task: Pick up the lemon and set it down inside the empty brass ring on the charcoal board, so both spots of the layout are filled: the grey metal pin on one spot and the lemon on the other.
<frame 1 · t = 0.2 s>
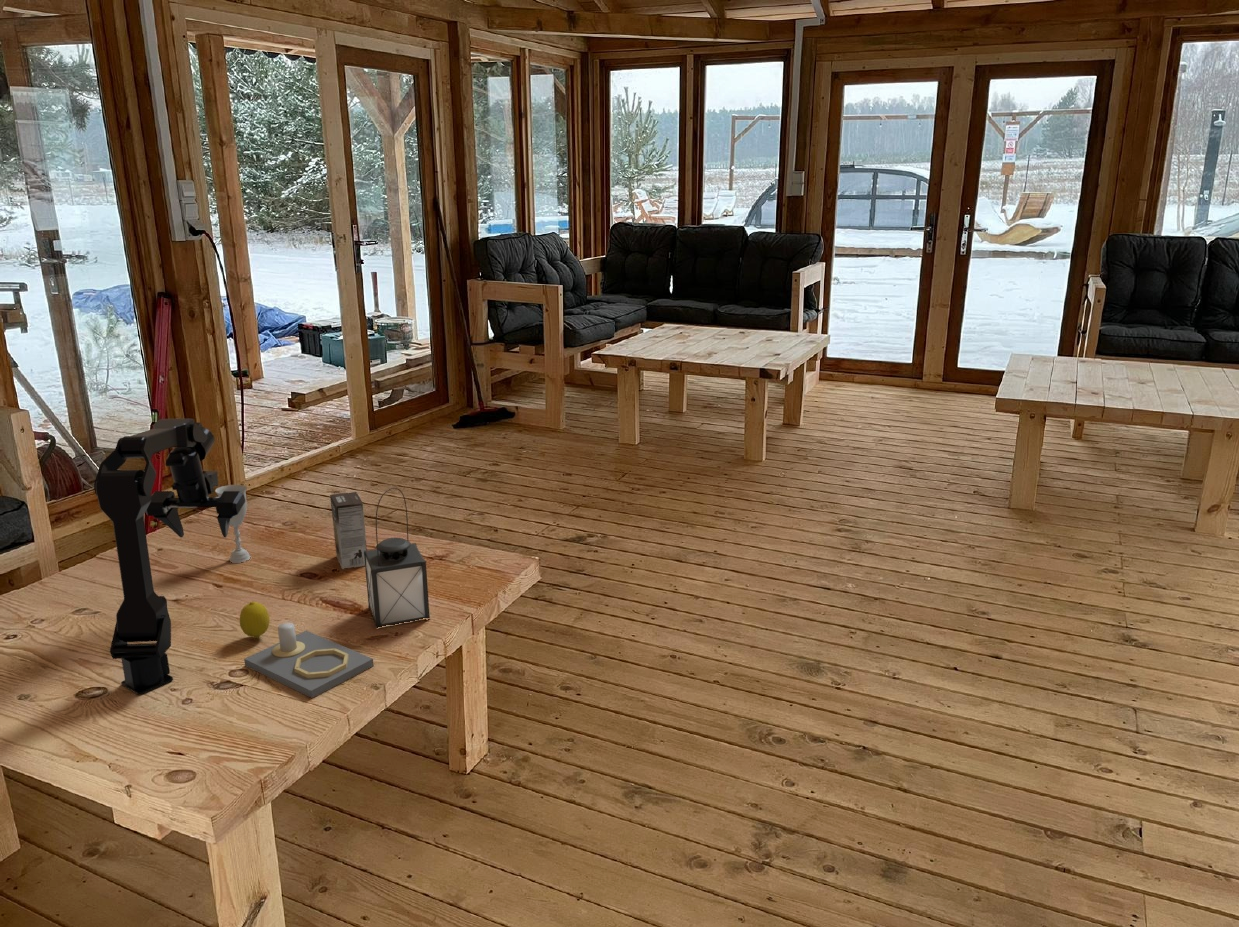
hand: (204, 536, 196), 15 cm above the table, tool pointing down, fingers open, 9 cm apart
lemon: (257, 638, 185), on the table
layout board: (309, 665, 174), on the table
coffee box: (351, 561, 223), on the table
chalice: (240, 560, 223), on the table
lantern: (398, 614, 195), on the table
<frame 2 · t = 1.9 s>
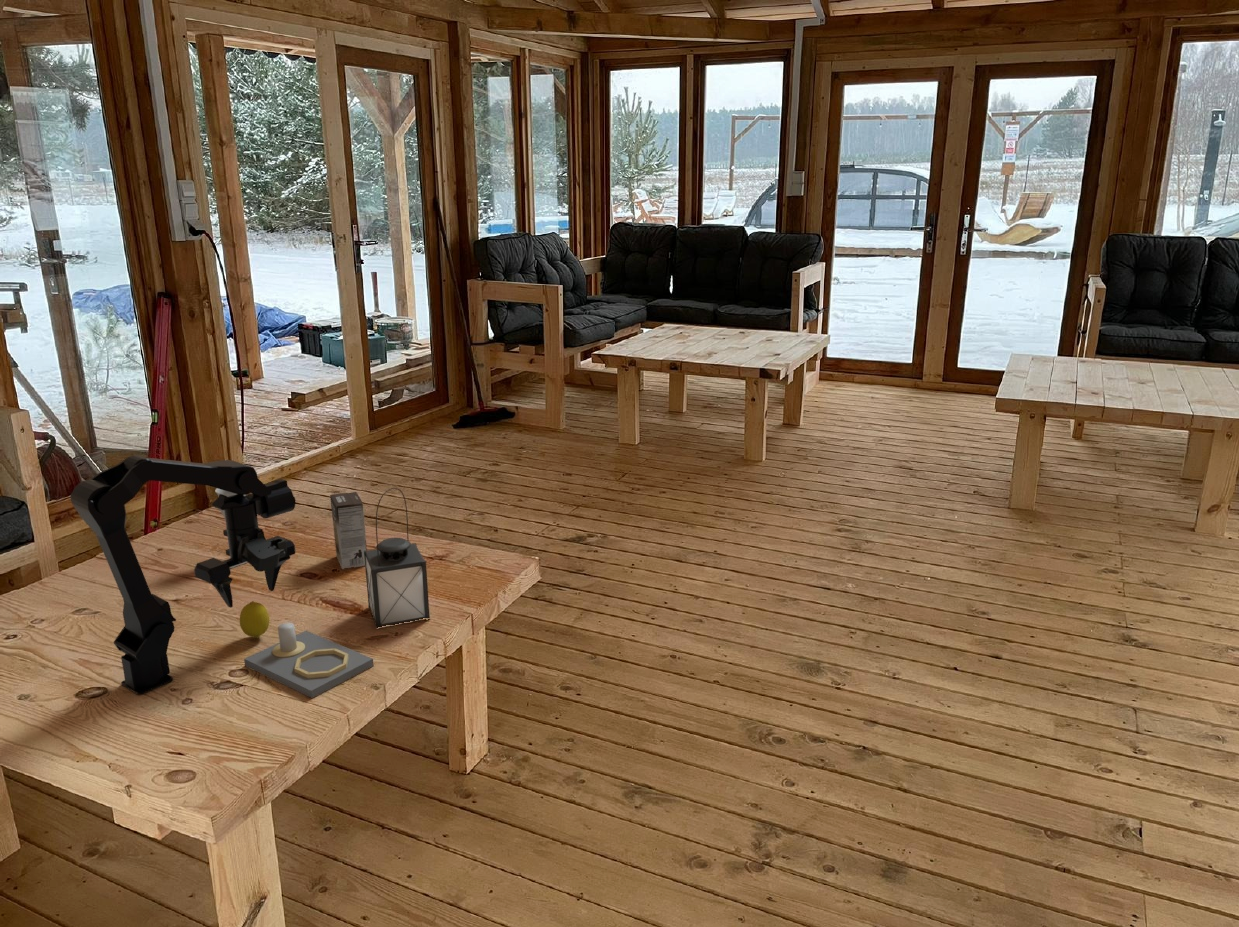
hand: (251, 598, 182), 9 cm above the table, tool pointing down, fingers open, 9 cm apart
nothing on the table moved.
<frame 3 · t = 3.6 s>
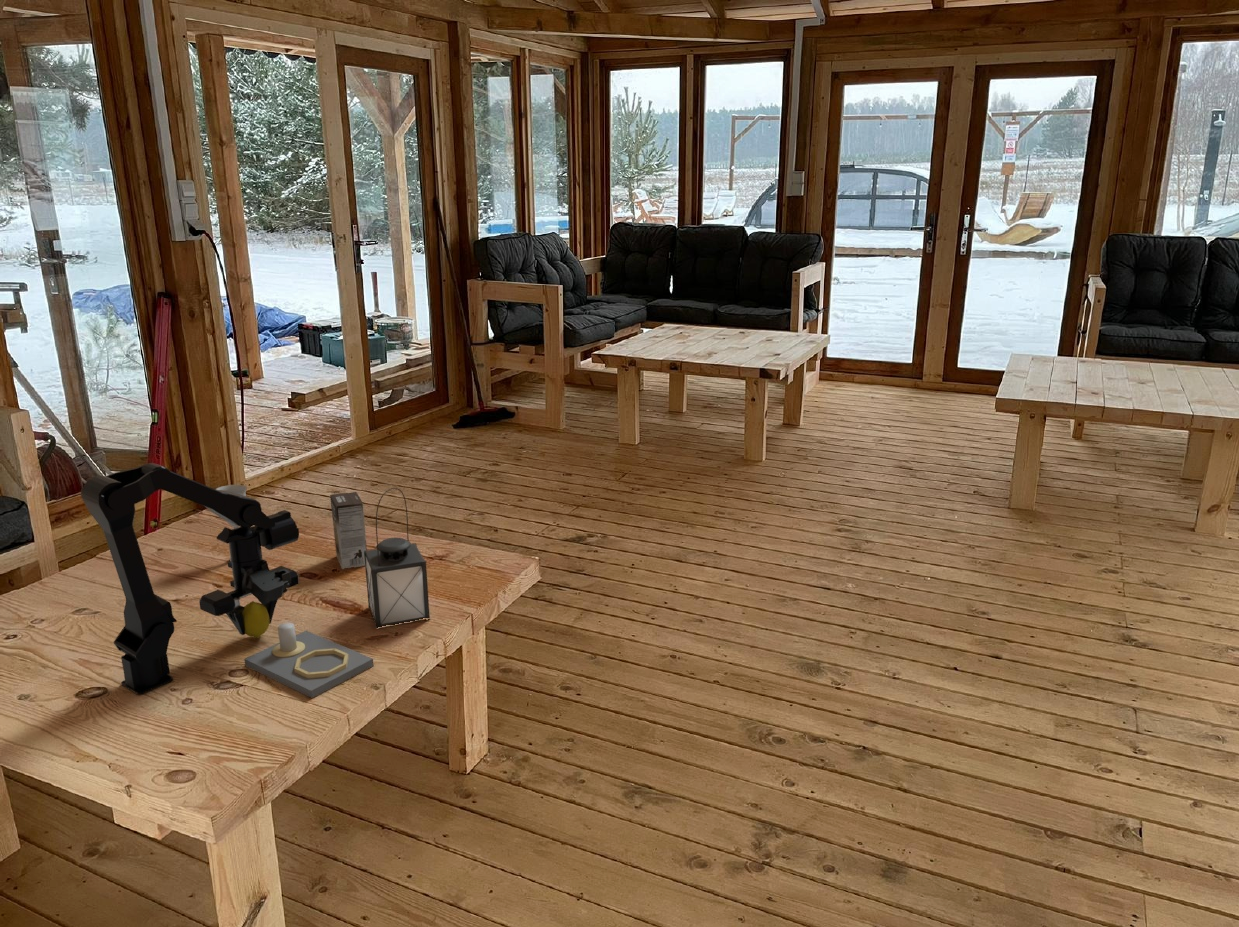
hand: (255, 628, 184), 2 cm above the table, tool pointing down, fingers closed on lemon, 5 cm apart
lemon: (257, 638, 185), on the table, touching gripper
everything else where it was.
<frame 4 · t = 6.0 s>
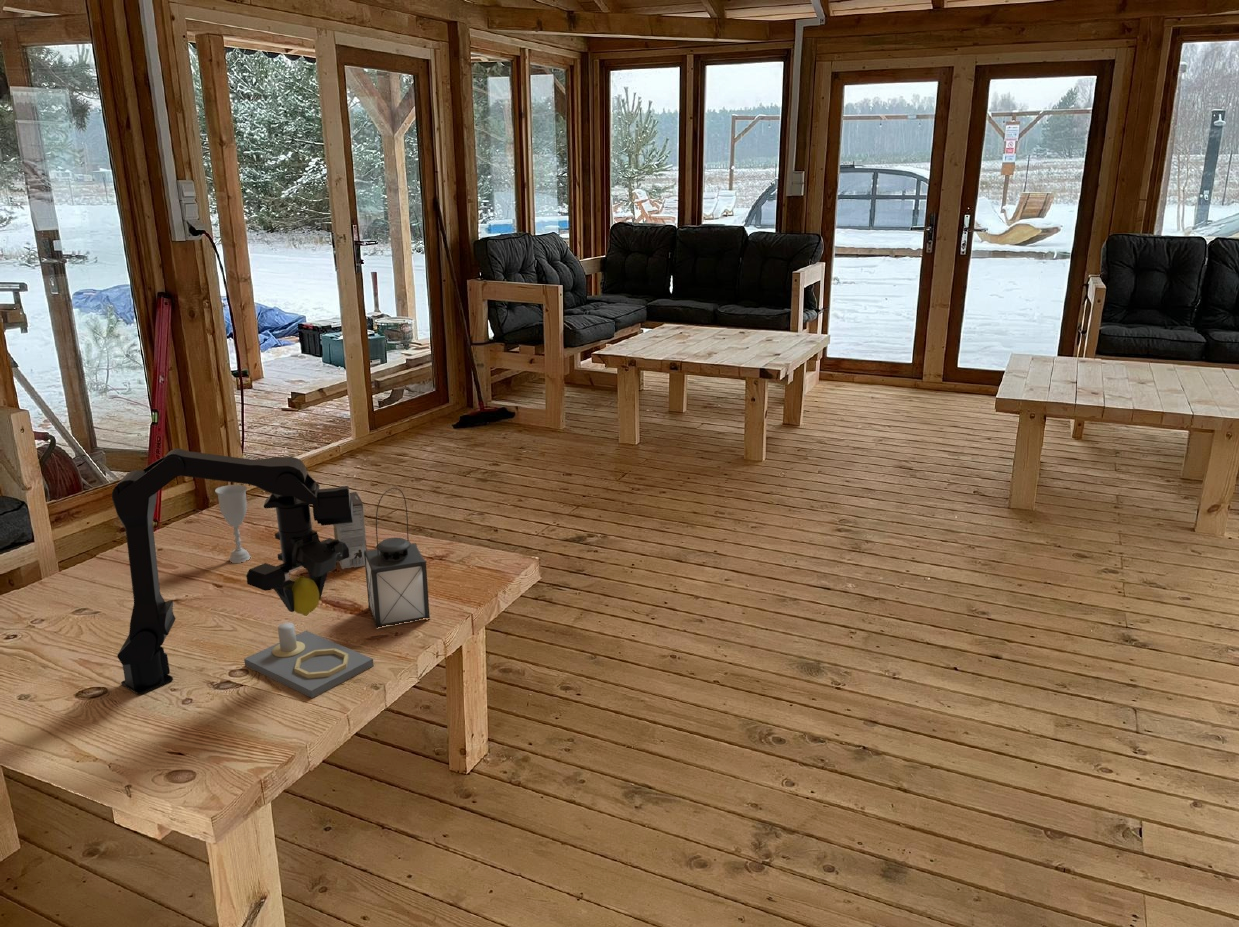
hand: (304, 605, 171), 12 cm above the table, tool pointing down, fingers closed on lemon, 5 cm apart
lemon: (306, 616, 172), point 10 cm above the table, touching gripper
everything else where it was.
when the fingers open (5 cm above the table, at t = 8.5 s): lemon drops 1 cm, resting on layout board.
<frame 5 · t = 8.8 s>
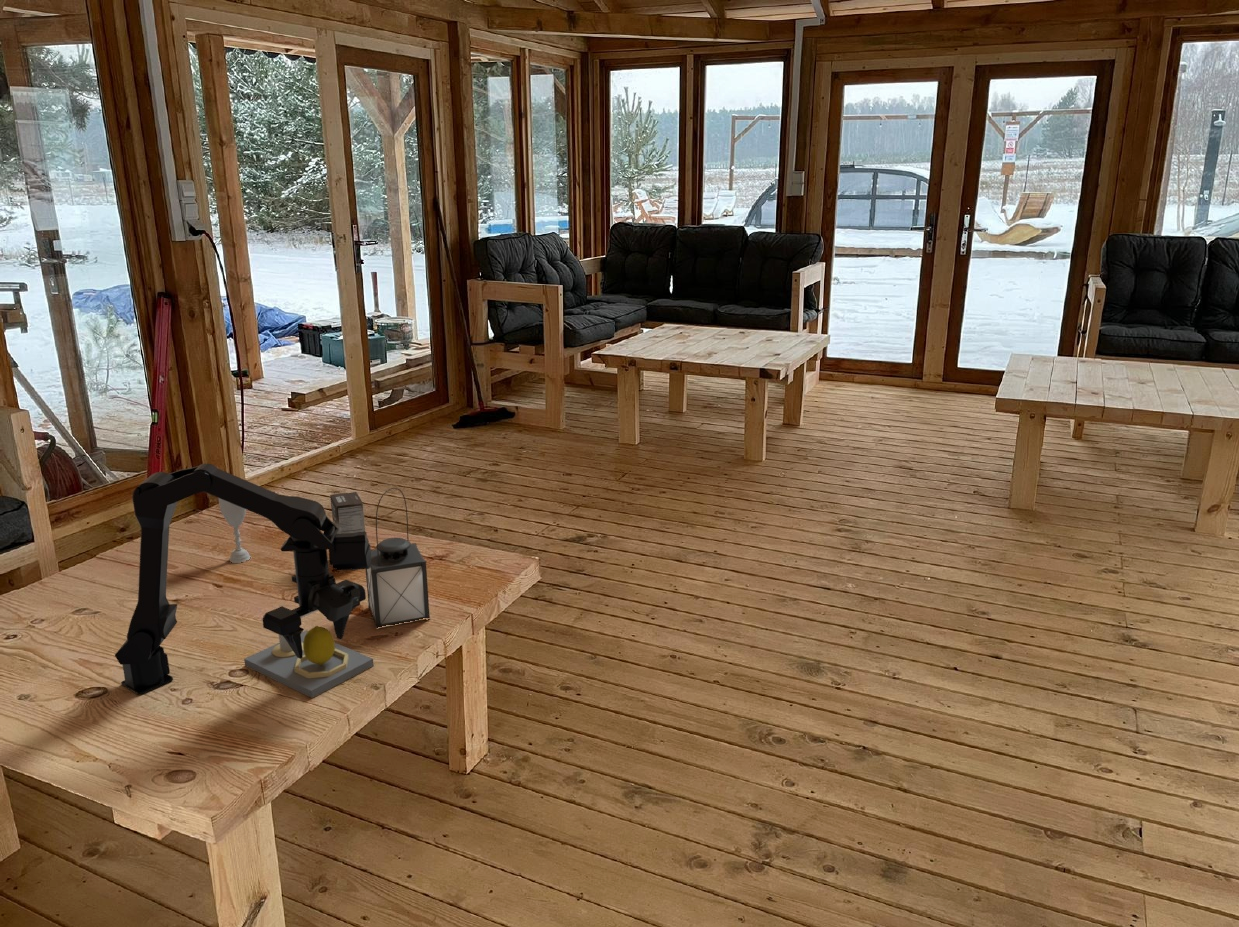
hand: (320, 648, 170), 5 cm above the table, tool pointing down, fingers open, 9 cm apart
lemon: (321, 665, 171), point 1 cm above the table, touching layout board
everything else where it was.
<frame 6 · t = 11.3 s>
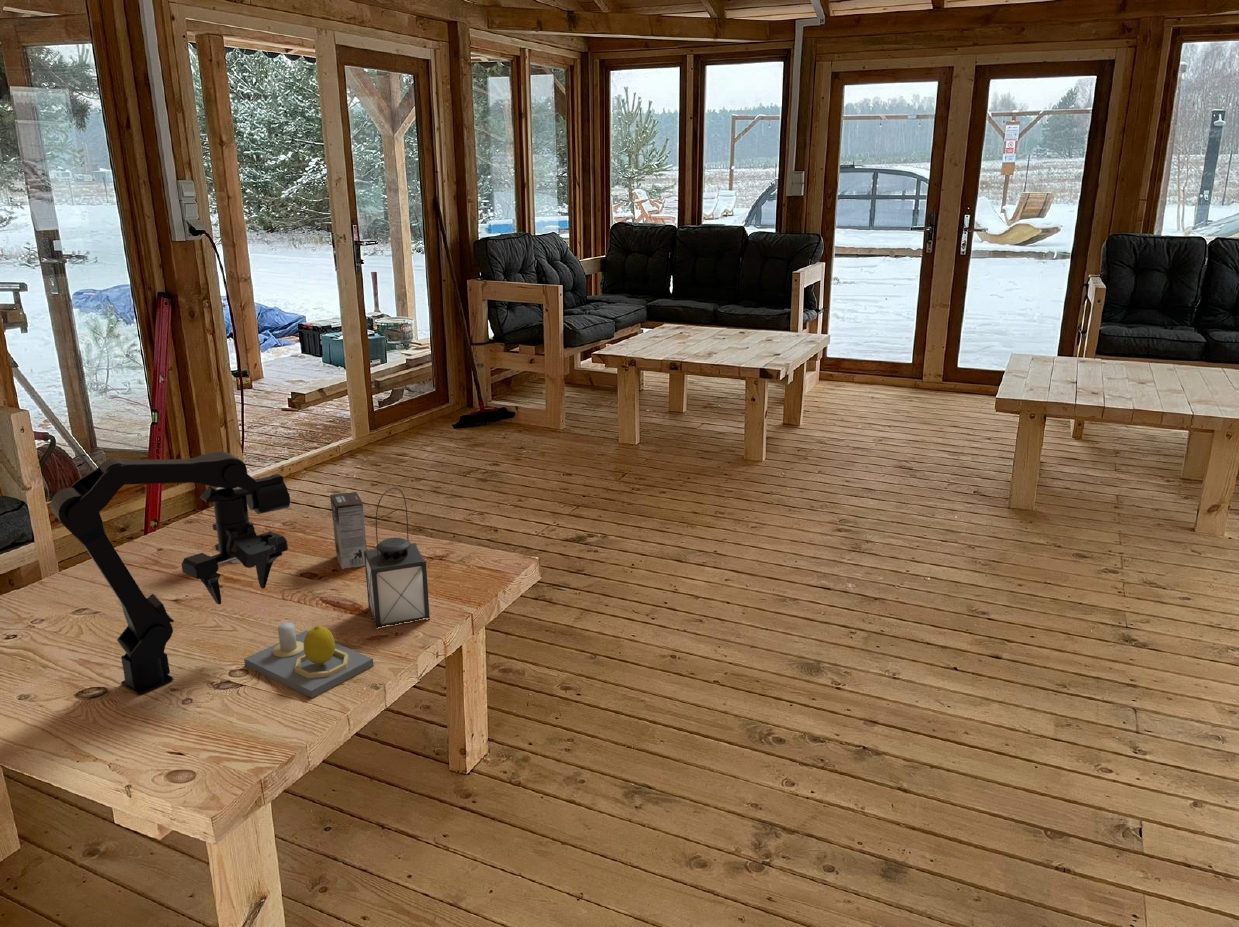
hand: (241, 595, 176), 12 cm above the table, tool pointing down, fingers open, 9 cm apart
nothing on the table moved.
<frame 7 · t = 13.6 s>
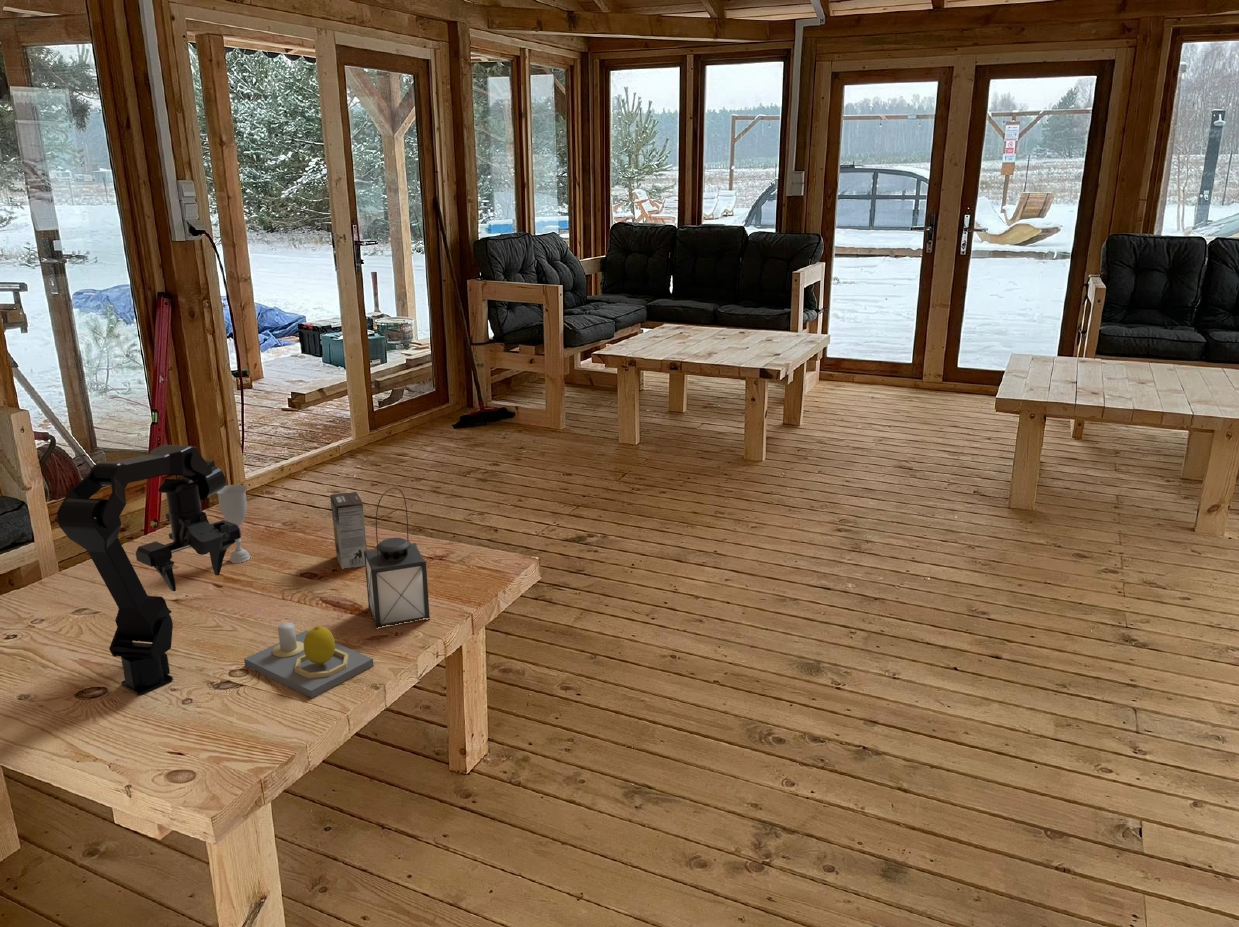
hand: (195, 582, 181), 12 cm above the table, tool pointing down, fingers open, 9 cm apart
nothing on the table moved.
at the end: lemon 0.1 cm from the target spot on the layout board, point 1.3 cm above the layout board's base; the gripper is holding nothing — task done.
